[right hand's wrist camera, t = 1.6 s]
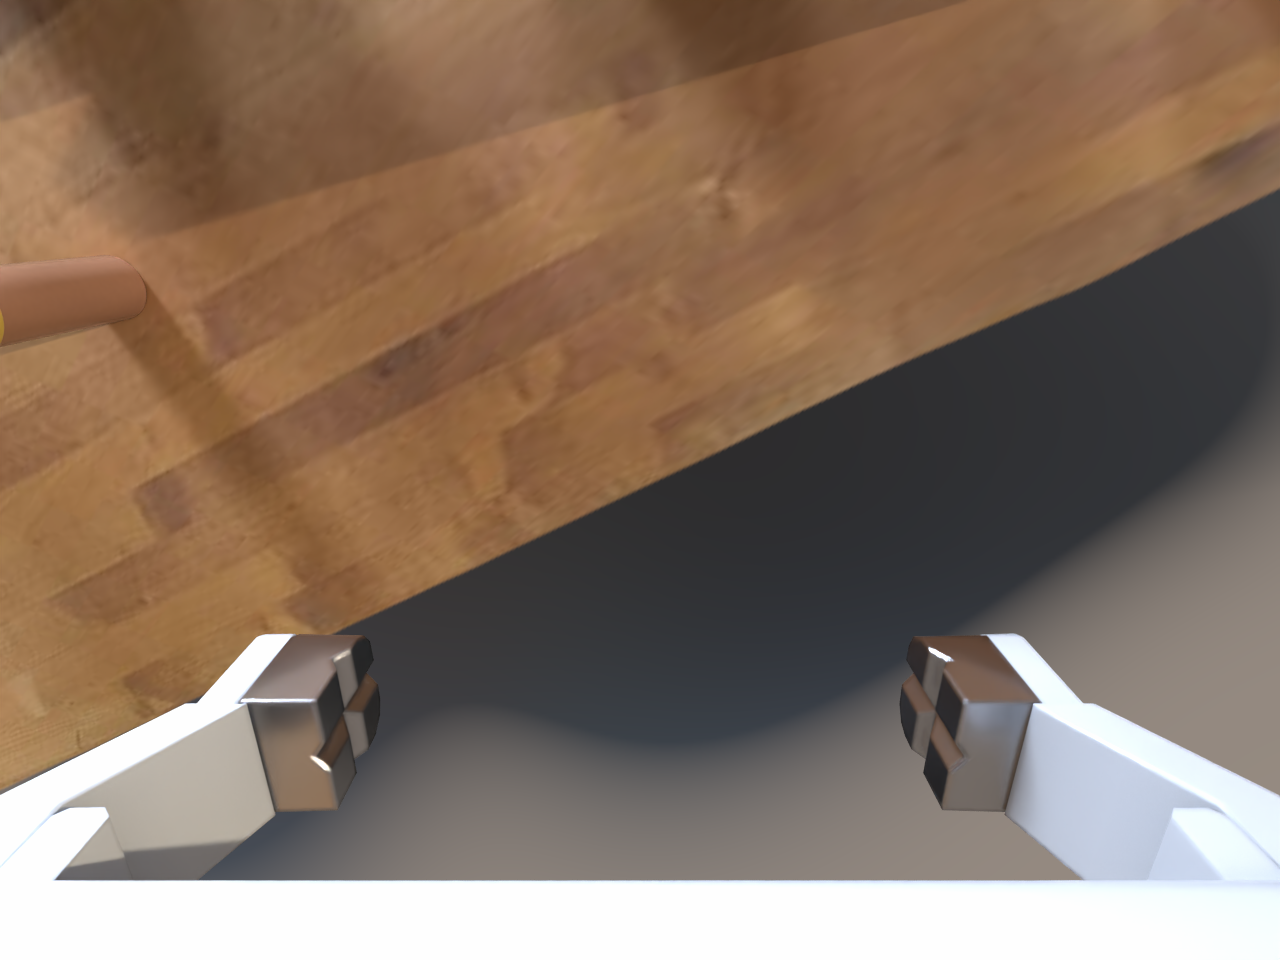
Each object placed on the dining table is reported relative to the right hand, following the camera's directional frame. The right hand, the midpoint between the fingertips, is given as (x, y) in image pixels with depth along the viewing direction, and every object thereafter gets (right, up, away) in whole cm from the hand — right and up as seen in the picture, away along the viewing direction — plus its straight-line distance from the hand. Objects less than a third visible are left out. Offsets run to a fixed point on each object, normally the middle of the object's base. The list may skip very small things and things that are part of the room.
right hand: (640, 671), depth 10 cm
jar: (-42, +18, +44) cm, 64 cm away
